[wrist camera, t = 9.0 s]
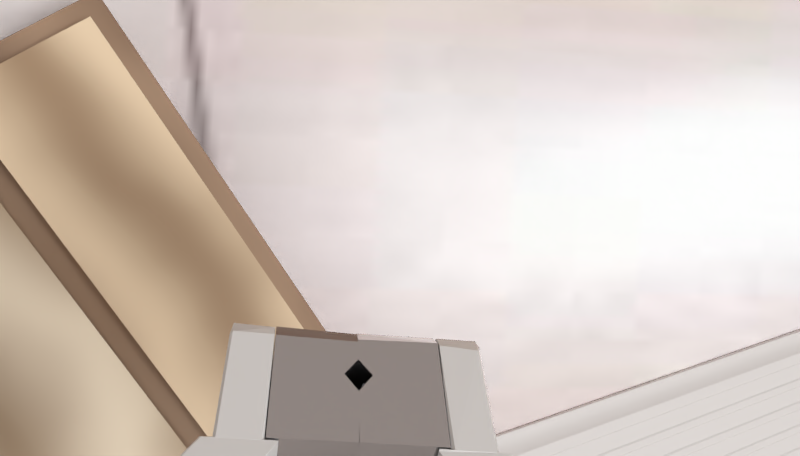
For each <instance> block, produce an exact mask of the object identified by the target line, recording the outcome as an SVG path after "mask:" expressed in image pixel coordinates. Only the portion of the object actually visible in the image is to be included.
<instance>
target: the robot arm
mask: <svg viewBox="0 0 800 456" xmlns="http://www.w3.org/2000/svg"><path fill="white" fill-rule="evenodd" d="M274 339H275V345H274ZM273 352H274V354H273ZM180 456H513V455H512V454H511V453H503V452H499V449H498V444H497V439H496V433H495V428H494V423H493V418H492V412H491V407H490V402H489V396H488V391H487V386H486V380H485V375H484V370H483V365H482V359H481V354H480V349H479V347H478V345H477V344H476V342H475V341H460V340H445V339H436V340H434V339H432V338H417V337H402V336H386V335H371V334H347V333H337V332H327V331H317V330H307V329H297V328H287V327H277V328H276V336H275V327H270V326H260V325H250V324H240V323H234V324H233V326H232V329H231V331H230V335H229V341H228V347H227V353H226V359H225V365H224V371H223V377H222V383H221V389H220V395H219V401H218V406H217V412H216V418H215V424H214V430H213V436H199V437H198V438H197V439H196V440H195V441H194V442H193V443H192V444H191V445H190V446H189V447H188V448H187V449H186V450H185V451H184V452H183V453H182V454H181V455H180Z"/></svg>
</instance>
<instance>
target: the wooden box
mask: <svg viewBox="0 0 800 456" xmlns="http://www.w3.org/2000/svg"><path fill="white" fill-rule="evenodd" d="M0 203H1V205H2V206H3V207H4V209H5V210H6V211H7V213H8V214H9V215H10V217H11V218H12V219H13V220H14V222H15V223H16V224H17V226H18V227H19V228H20V230H21V231H22V232H23V234H24V235H25V236H26V238H27V239H28V240H29V241H30V243H31V244H32V245H33V247H34V248H35V249H36V251H37V252H38V253H39V255H40V256H41V257H42V259H43V260H44V261H45V263H46V264H47V265H48V266H49V268H50V269H51V270H52V272H53V273H54V274H55V276H56V277H57V278H58V280H59V281H60V282H61V284H62V285H63V286H64V288H65V289H66V290H67V291H68V293H69V294H70V295H71V297H72V298H73V299H74V301H75V302H76V303H77V305H78V306H79V307H80V309H81V310H82V311H83V313H84V314H85V315H86V316H87V318H88V319H89V320H90V322H91V323H92V324H93V326H94V327H95V328H96V330H97V331H98V332H99V334H100V335H101V336H102V338H103V339H104V340H105V341H106V343H107V344H108V345H109V347H110V348H111V349H112V351H113V352H114V353H115V355H116V356H117V357H118V359H119V360H120V361H121V362H122V364H123V365H124V366H125V368H126V369H127V370H128V372H129V373H130V374H131V376H132V377H133V378H134V380H135V381H136V382H137V384H138V385H139V386H140V387H141V389H142V390H143V391H144V393H145V394H146V395H147V397H148V398H149V399H150V401H151V402H152V403H153V405H154V406H155V407H156V409H157V410H158V411H159V412H160V414H161V415H162V416H163V418H164V419H165V420H166V422H167V423H168V424H169V426H170V427H171V428H172V430H173V431H174V432H175V434H176V435H177V436H178V437H179V439H180V440H181V441H182V443H183V444H184V445H185V447H186V448H188V447H189V446H190V445H191V444H192V443H193V442H194V441H195V440H196V439H197V438H198V437H199V436H213V430H214V424H215V418H216V412H217V406H218V401H219V395H220V389H221V383H222V377H223V371H224V365H225V359H226V353H227V347H228V341H229V335H230V331H231V329H232V326H233V324H234V323H240V324H250V325H260V326H270V327H275V336H276V328H277V327H287V328H297V329H307V330H317V331H325V329H324V328H323V326H322V325H321V323H320V322H319V320H318V319H317V317H316V316H315V314H314V313H313V311H312V310H311V308H310V307H309V306H308V304H307V303H306V301H305V300H304V298H303V297H302V295H301V294H300V292H299V291H298V289H297V288H296V286H295V285H294V283H293V282H292V280H291V279H290V277H289V276H288V274H287V273H286V271H285V270H284V269H283V267H282V266H281V264H280V263H279V261H278V260H277V258H276V257H275V255H274V254H273V252H272V251H271V249H270V248H269V246H268V245H267V243H266V242H265V240H264V239H263V237H262V236H261V234H260V233H259V231H258V230H257V229H256V227H255V226H254V224H253V223H252V221H251V220H250V218H249V217H248V215H247V214H246V212H245V211H244V209H243V208H242V206H241V205H240V203H239V202H238V200H237V199H236V197H235V196H234V194H233V193H232V192H231V190H230V189H229V187H228V186H227V184H226V183H225V181H224V180H223V178H222V177H221V175H220V174H219V172H218V171H217V169H216V168H215V166H214V165H213V163H212V162H211V160H210V159H209V157H208V156H207V155H206V153H205V152H204V150H203V149H202V147H201V146H200V144H199V143H198V141H197V140H196V138H195V137H194V135H193V134H192V132H191V131H190V129H189V128H188V126H187V125H186V123H185V122H184V120H183V119H182V117H181V116H180V115H179V113H178V112H177V110H176V109H175V107H174V106H173V104H172V103H171V101H170V100H169V98H168V97H167V95H166V94H165V92H164V91H163V89H162V88H161V86H160V85H159V83H158V82H157V80H156V79H155V78H154V76H153V75H152V73H151V72H150V70H149V69H148V67H147V66H146V64H145V63H144V61H143V60H142V58H141V57H140V55H139V54H138V52H137V51H136V49H135V48H134V46H133V45H132V43H131V42H130V40H129V39H128V38H127V36H126V35H125V33H124V32H123V30H122V29H121V27H120V26H119V24H118V23H117V21H116V20H115V18H114V17H113V15H112V14H111V12H110V11H109V9H108V8H107V6H106V5H105V3H104V2H103V1H102V0H79V1H77V2H75V3H73V4H71V5H69V6H67V7H65V8H63V9H61V10H59V11H57V12H55V13H53V14H51V15H49V16H47V17H46V18H44V19H42V20H40V21H38V22H36V23H34V24H32V25H30V26H28V27H26V28H24V29H22V30H20V31H18V32H16V33H14V34H12V35H11V36H9V37H7V38H5V39H3V40H1V41H0ZM274 345H275V339H274ZM273 354H274V352H273Z"/></svg>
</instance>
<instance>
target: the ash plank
mask: <svg viewBox="0 0 800 456" xmlns="http://www.w3.org/2000/svg"><path fill="white" fill-rule="evenodd" d="M186 449H187V448H186V447H185V445H184V444H183V443H182V441H181V440H180V439H179V437H178V436H177V435H176V434H175V432H174V431H173V430H172V428H171V427H170V426H169V424H168V423H167V422H166V420H165V419H164V418H163V416H162V415H161V414H160V412H159V411H158V410H157V409H156V407H155V406H154V405H153V403H152V402H151V401H150V399H149V398H148V397H147V395H146V394H145V393H144V391H143V390H142V389H141V387H140V386H139V385H138V384H137V382H136V381H135V380H134V378H133V377H132V376H131V374H130V373H129V372H128V370H127V369H126V368H125V366H124V365H123V364H122V362H121V361H120V360H119V359H118V357H117V356H116V355H115V353H114V352H113V351H112V349H111V348H110V347H109V345H108V344H107V343H106V341H105V340H104V339H103V338H102V336H101V335H100V334H99V332H98V331H97V330H96V328H95V327H94V326H93V324H92V323H91V322H90V320H89V319H88V318H87V316H86V315H85V314H84V313H83V311H82V310H81V309H80V307H79V306H78V305H77V303H76V302H75V301H74V299H73V298H72V297H71V295H70V294H69V293H68V291H67V290H66V289H65V288H64V286H63V285H62V284H61V282H60V281H59V280H58V278H57V277H56V276H55V274H54V273H53V272H52V270H51V269H50V268H49V266H48V265H47V264H46V263H45V261H44V260H43V259H42V257H41V256H40V255H39V253H38V252H37V251H36V249H35V248H34V247H33V245H32V244H31V243H30V241H29V240H28V239H27V238H26V236H25V235H24V234H23V232H22V231H21V230H20V228H19V227H18V226H17V224H16V223H15V222H14V220H13V219H12V218H11V217H10V215H9V214H8V213H7V211H6V210H5V209H4V207H3V206H2V205H1V203H0V456H180V455H181V454H182V453H183V452H184V451H185V450H186Z"/></svg>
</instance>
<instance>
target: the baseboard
mask: <svg viewBox="0 0 800 456" xmlns="http://www.w3.org/2000/svg"><path fill="white" fill-rule="evenodd" d="M496 439H497V444H498V449H499V452H503V453H511V454H512V455H513V456H800V329H799V330H796V331H793V332H790V333H787V334H784V335H781V336H779V337H776V338H773V339H770V340H767V341H764V342H761V343H758V344H756V345H753V346H750V347H747V348H744V349H741V350H738V351H735V352H733V353H730V354H727V355H724V356H721V357H718V358H715V359H712V360H710V361H707V362H704V363H701V364H698V365H695V366H692V367H689V368H687V369H684V370H681V371H678V372H675V373H672V374H669V375H666V376H664V377H661V378H658V379H655V380H652V381H649V382H646V383H643V384H641V385H638V386H635V387H632V388H629V389H626V390H623V391H620V392H618V393H615V394H612V395H609V396H606V397H603V398H600V399H597V400H595V401H592V402H589V403H586V404H583V405H580V406H577V407H574V408H572V409H569V410H566V411H563V412H560V413H557V414H554V415H551V416H549V417H546V418H543V419H540V420H537V421H534V422H531V423H528V424H526V425H523V426H520V427H517V428H514V429H511V430H508V431H505V432H503V433H500V434H497V435H496Z"/></svg>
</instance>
